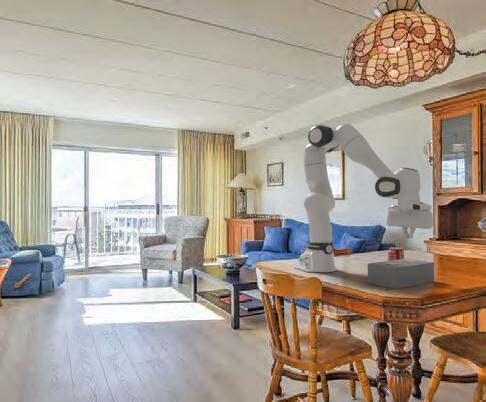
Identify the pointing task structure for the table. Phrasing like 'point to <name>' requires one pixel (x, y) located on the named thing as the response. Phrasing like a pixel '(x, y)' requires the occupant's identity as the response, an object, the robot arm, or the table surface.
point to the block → (400, 273)
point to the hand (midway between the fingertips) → (408, 238)
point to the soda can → (395, 253)
